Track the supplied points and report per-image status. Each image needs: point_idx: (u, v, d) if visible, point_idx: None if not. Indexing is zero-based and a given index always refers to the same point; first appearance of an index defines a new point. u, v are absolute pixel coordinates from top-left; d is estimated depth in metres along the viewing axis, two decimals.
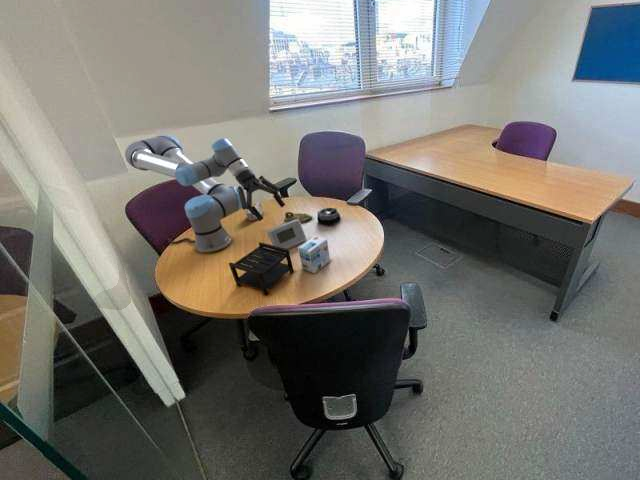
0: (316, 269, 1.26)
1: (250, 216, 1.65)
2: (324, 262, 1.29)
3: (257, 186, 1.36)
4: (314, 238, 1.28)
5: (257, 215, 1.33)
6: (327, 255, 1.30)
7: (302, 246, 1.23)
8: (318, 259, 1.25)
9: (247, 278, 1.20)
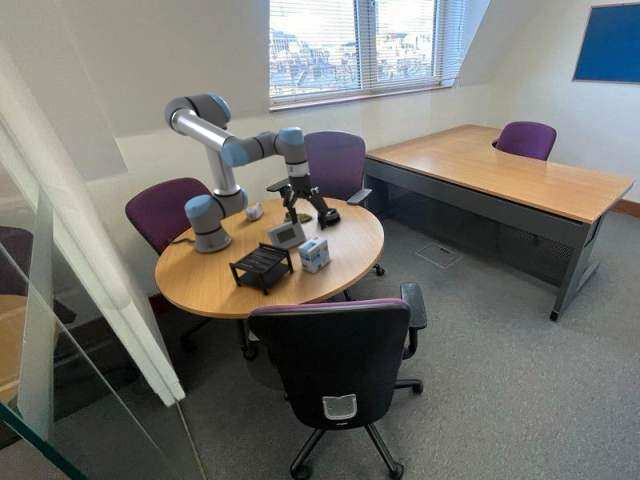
0: (316, 269, 1.26)
1: (250, 216, 1.65)
2: (324, 262, 1.29)
3: (303, 197, 1.13)
4: (314, 238, 1.28)
5: None
6: (327, 255, 1.30)
7: (302, 246, 1.23)
8: (318, 259, 1.25)
9: (247, 278, 1.20)
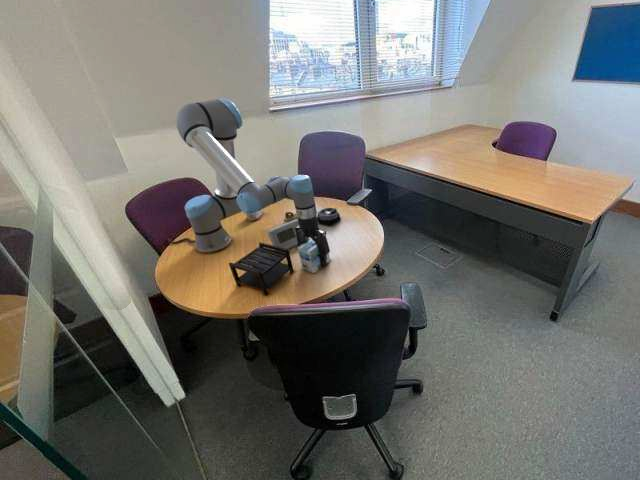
0: (316, 269, 1.26)
1: (250, 216, 1.65)
2: None
3: None
4: None
5: None
6: (327, 255, 1.30)
7: (302, 246, 1.23)
8: (318, 259, 1.25)
9: (247, 278, 1.20)
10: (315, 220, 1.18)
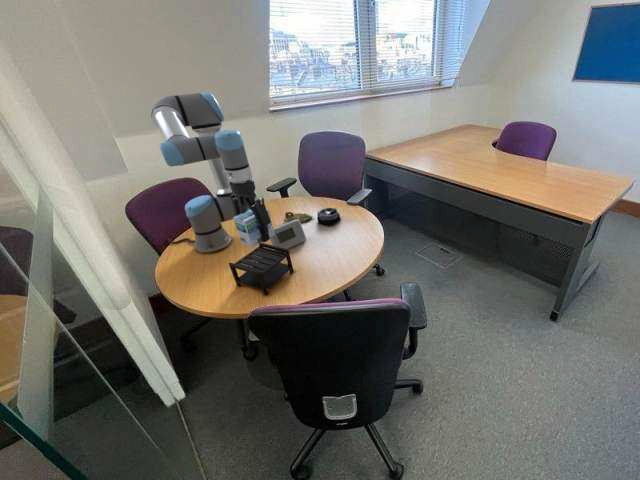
0: (256, 243, 1.10)
1: None
2: None
3: None
4: None
5: None
6: (270, 228, 1.14)
7: (238, 216, 1.08)
8: (258, 231, 1.10)
9: (247, 278, 1.20)
10: (250, 184, 1.02)
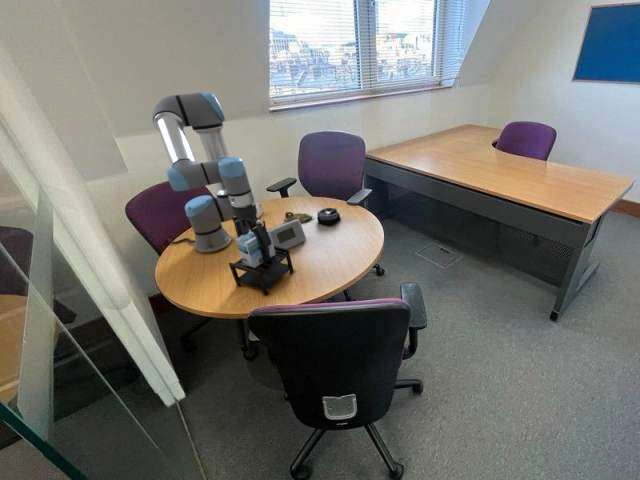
0: (257, 263, 1.14)
1: None
2: None
3: None
4: None
5: None
6: (271, 248, 1.18)
7: (240, 238, 1.11)
8: (259, 252, 1.14)
9: (247, 278, 1.20)
10: (251, 208, 1.06)
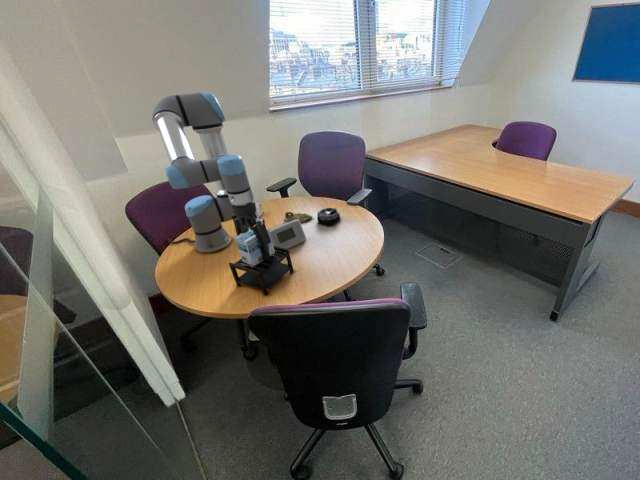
0: (256, 262, 1.14)
1: None
2: None
3: None
4: None
5: None
6: (271, 246, 1.18)
7: (239, 236, 1.11)
8: (259, 250, 1.13)
9: (247, 278, 1.20)
10: (251, 206, 1.05)
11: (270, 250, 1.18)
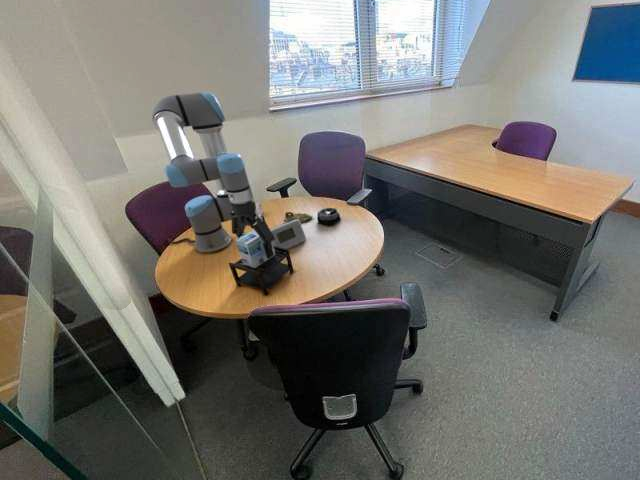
0: (257, 264, 1.14)
1: None
2: None
3: None
4: None
5: None
6: None
7: (240, 238, 1.12)
8: (259, 252, 1.14)
9: (247, 278, 1.20)
10: (250, 205, 1.05)
11: None
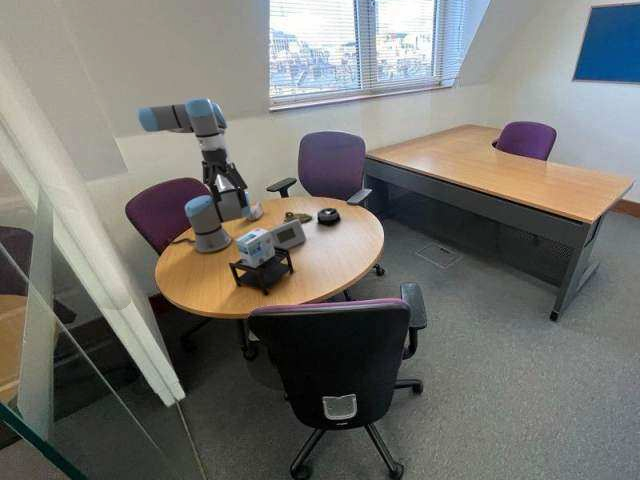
0: (257, 264, 1.14)
1: (250, 216, 1.65)
2: (267, 256, 1.18)
3: (220, 172, 1.09)
4: (255, 230, 1.17)
5: None
6: (271, 248, 1.18)
7: (240, 238, 1.12)
8: (259, 252, 1.14)
9: (247, 278, 1.20)
10: (221, 152, 1.05)
11: (270, 252, 1.19)
